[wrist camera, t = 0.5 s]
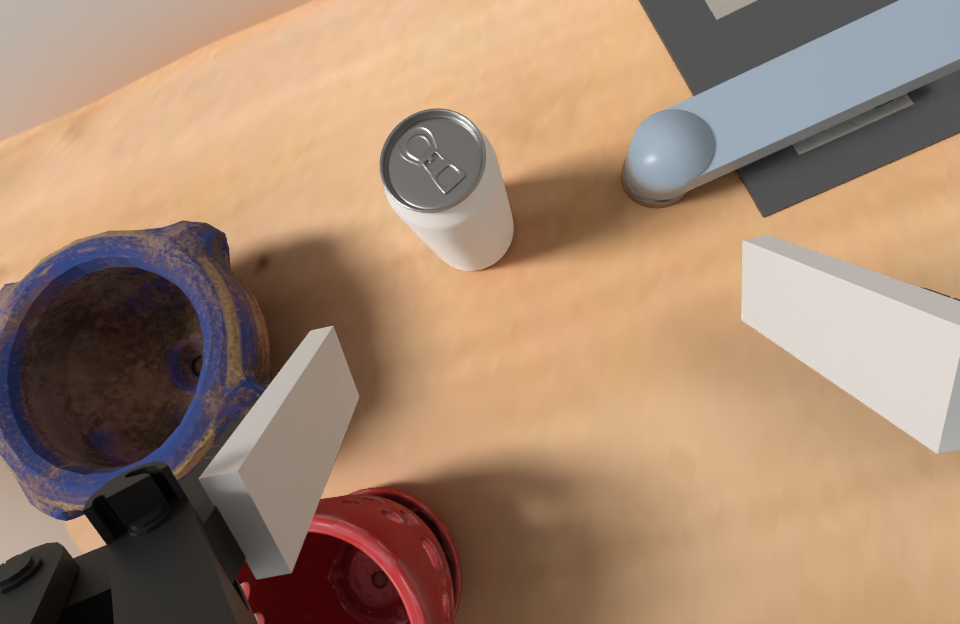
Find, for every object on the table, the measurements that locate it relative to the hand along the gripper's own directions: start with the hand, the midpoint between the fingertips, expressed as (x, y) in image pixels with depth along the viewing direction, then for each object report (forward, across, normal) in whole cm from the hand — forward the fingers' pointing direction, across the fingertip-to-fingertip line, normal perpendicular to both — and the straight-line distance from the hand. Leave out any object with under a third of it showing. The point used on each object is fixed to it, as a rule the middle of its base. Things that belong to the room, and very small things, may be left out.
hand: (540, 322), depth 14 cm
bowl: (+20, +25, +7) cm, 33 cm away
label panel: (+24, -24, -8) cm, 35 cm away
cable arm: (+20, -21, -3) cm, 28 cm away
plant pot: (+10, +13, +21) cm, 27 cm away
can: (+21, +2, +1) cm, 22 cm away
